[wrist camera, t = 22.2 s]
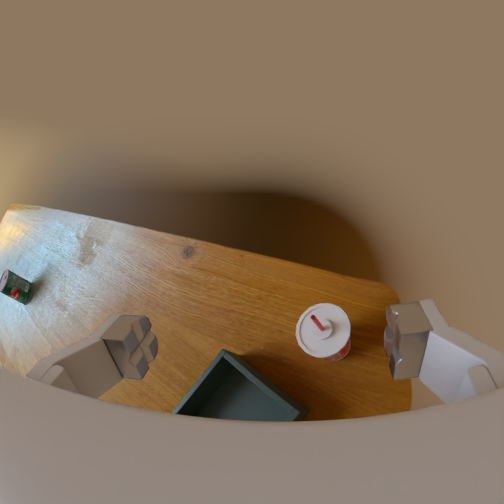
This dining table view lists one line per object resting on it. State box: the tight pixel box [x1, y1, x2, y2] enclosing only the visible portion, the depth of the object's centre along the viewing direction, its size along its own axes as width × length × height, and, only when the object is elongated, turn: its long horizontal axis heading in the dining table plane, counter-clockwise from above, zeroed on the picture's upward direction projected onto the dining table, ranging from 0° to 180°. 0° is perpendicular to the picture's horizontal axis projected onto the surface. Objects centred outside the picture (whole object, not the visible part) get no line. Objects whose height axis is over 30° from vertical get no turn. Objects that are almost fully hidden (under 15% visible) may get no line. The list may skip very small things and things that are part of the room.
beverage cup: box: [296, 303, 351, 361], centre depth 33 cm, size 6×6×14 cm
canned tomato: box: [0, 269, 34, 305], centre depth 75 cm, size 8×8×11 cm
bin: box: [171, 349, 310, 421], centre depth 36 cm, size 14×14×5 cm
